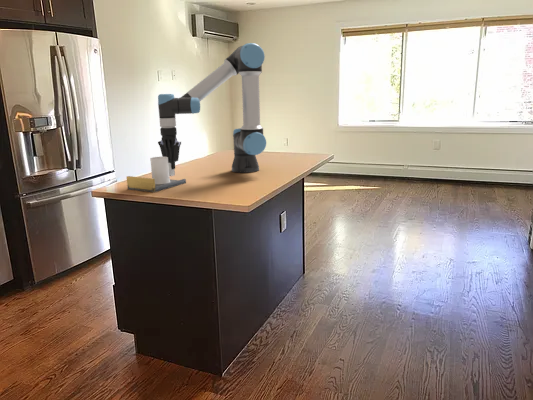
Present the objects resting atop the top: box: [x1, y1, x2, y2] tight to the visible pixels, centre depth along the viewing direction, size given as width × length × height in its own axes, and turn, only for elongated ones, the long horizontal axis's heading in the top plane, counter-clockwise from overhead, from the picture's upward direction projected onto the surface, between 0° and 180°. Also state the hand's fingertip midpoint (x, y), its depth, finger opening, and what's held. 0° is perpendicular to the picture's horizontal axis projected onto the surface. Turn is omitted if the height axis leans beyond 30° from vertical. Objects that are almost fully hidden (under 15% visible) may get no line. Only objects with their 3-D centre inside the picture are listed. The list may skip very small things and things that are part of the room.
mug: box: [150, 156, 171, 185], centre depth 206 cm, size 12×8×12 cm
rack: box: [126, 175, 187, 193], centre depth 203 cm, size 16×22×6 cm
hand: (171, 175), depth 212 cm, fingers closed
